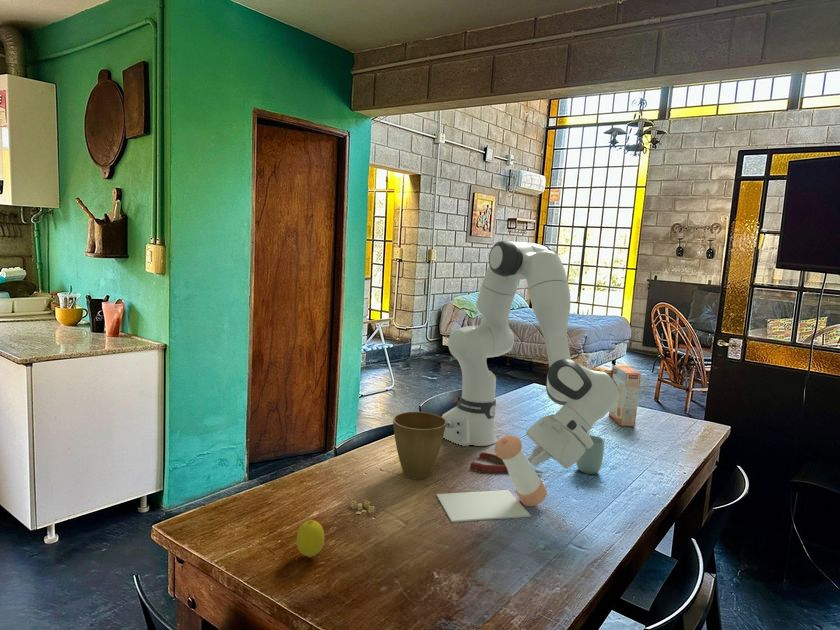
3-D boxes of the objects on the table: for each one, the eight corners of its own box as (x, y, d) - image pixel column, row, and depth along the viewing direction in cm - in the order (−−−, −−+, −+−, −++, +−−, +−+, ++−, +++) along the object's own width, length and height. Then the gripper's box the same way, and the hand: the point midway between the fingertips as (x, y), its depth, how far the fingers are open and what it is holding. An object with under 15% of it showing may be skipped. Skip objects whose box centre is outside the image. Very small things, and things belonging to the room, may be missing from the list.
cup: (603, 478, 160) (606, 445, 159) (575, 474, 162) (578, 441, 161) (600, 468, 168) (603, 436, 167) (573, 464, 169) (576, 433, 168)
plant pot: (379, 472, 156) (381, 418, 154) (415, 459, 167) (418, 408, 165) (418, 490, 146) (421, 432, 144) (453, 475, 157) (457, 421, 155)
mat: (508, 491, 148) (508, 489, 148) (530, 516, 135) (530, 515, 135) (436, 495, 144) (436, 494, 144) (451, 522, 130) (451, 520, 130)
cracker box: (636, 427, 210) (641, 373, 207) (620, 426, 210) (625, 372, 207) (623, 416, 224) (628, 365, 221) (608, 415, 224) (613, 364, 221)
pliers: (537, 485, 154) (538, 476, 154) (468, 471, 162) (469, 462, 161) (545, 471, 165) (545, 463, 164) (480, 458, 172) (480, 450, 172)
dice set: (350, 508, 136) (350, 501, 136) (370, 506, 137) (370, 499, 137) (353, 518, 131) (354, 510, 131) (374, 516, 133) (375, 508, 132)
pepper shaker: (518, 508, 141) (487, 451, 135) (522, 487, 147) (492, 432, 141) (545, 504, 137) (514, 446, 131) (548, 483, 144) (519, 426, 137)
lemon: (298, 549, 115) (298, 513, 114) (324, 549, 116) (325, 513, 115) (294, 564, 110) (295, 527, 109) (322, 564, 110) (323, 527, 109)
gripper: (544, 405, 151) (508, 440, 150) (582, 429, 131) (541, 471, 130) (557, 420, 153) (522, 455, 152) (597, 447, 133) (556, 488, 132)
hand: (531, 463), depth 141 cm, fingers closed
